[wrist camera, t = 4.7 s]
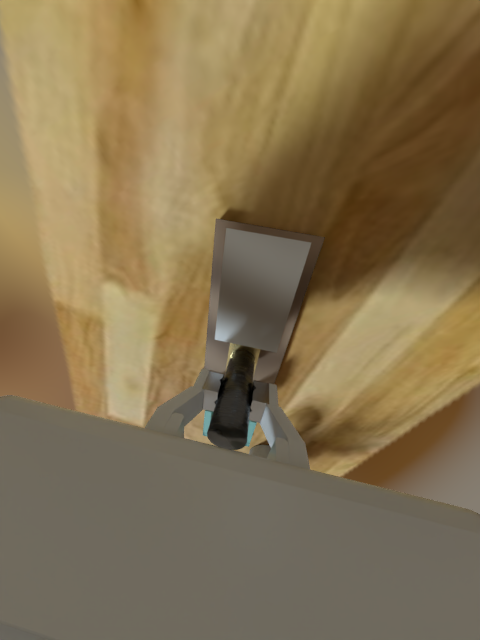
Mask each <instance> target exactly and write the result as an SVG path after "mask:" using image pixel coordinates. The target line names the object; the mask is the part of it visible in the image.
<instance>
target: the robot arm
mask: <svg viewBox="0 0 480 640" xmlns="http://www.w3.org/2000/svg"><path fill="white" fill-rule="evenodd" d="M223 379H224V373H220V372H216V371H212V370H208V369H204V368H203V369H202V370H201V372H200V374H199V376H198V378H197V380H196V382H195V384H194V386H193V387H189V388H188V389H186V390H185V391H183V392H181V393H180V394H178V395H177V396H175V397H173V398H172V399H170V400H169V401H167V402H165V403H164V404H162V405H161V406H159V407H158V408H157V409H156V411H155V412H154V414H153V415H152V417H151V419H150V420H149V422H148V423H147V425H146V426H145V428H141V427H137V426H133V425H129V424H125V423H121V422H117V421H113V420H109V419H105V418H101V417H97V416H93V415H89V414H85V413H81V412H77V411H73V410H69V409H66V408H61V407H58V406H53V405H50V404H46V403H41V402H38V401H33V400H30V399H26V398H22V397H18V396H12V395H9V396H8V395H7V396H2V397H0V640H480V514H478V513H476V512H474V511H472V510H469V509H466V508H462V507H458V506H454V505H450V504H446V503H442V502H438V501H434V500H430V499H426V498H422V497H418V496H414V495H410V494H406V493H401V492H398V491H394V490H389V489H386V488H382V487H378V486H374V485H369V484H366V483H362V482H358V481H354V480H350V479H346V478H342V477H338V476H334V475H330V474H326V473H322V472H318V471H314V470H310V467H309V461H308V456H307V450H306V445H305V442H304V441H303V439H302V438H301V436H300V435H299V433H298V432H297V430H296V429H295V428H294V426H293V425H292V423H291V422H290V420H289V419H288V417H287V416H286V414H285V413H284V411H283V410H282V409H281V407H278V395H277V385H275V384H270V383H266V382H261V381H256V380H254V381H253V385H252V395H251V406H250V416H249V420H251V421H255V422H258V423H260V425H261V427H262V429H263V431H264V434H265V436H266V438H267V441H268V443H269V445H270V447H271V450H270V452H269V454H268V457H267V459H266V458H262V457H258V456H254V455H250V454H246V453H242V452H238V451H233V450H229V449H225V448H221V447H217V446H213V445H209V444H205V443H201V442H197V441H193V440H189V439H185V438H184V426H185V425H187V424H188V423H189V422H190V421H191V420H192V419H193V418H194V417H195V416H196V415H197V414H199V413H200V412H201V411H202V409H204V410H209V411H214V408H215V405H216V402H217V399H218V395H219V392H220V389H221V385H222V382H223Z"/></svg>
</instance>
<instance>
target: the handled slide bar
mask: <svg viewBox="0 0 480 640" xmlns="http://www.w3.org/2000/svg"><path fill="white" fill-rule="evenodd" d="M260 350H261V349H257V348H252V347H247V346H243V345H238V344H233V343H230V346H229V352H228V359H227V365H226V372H225V376H224V379H223V382H222V385H221V389H220V392H219V395H218V399H217V402H216V405H215V408H214V412H213V415H212V418H211V422H210V425H209V428H208V431H207V437H208V439H209V440H210V441H211V442H212V443H213V444H214V445H216V446H218V447H221V448H225V449H229V450H237V449H241V448H243V447H244V446H245V445H246V443H247V436H248V426H249V416H250V406H251V395H252V385H253V376H254V373H255V369H256V365H257V361H258V357H259V353H260Z"/></svg>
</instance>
